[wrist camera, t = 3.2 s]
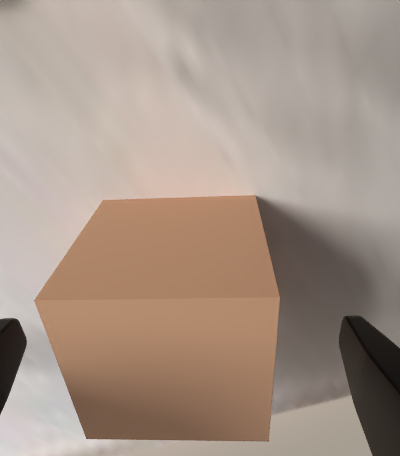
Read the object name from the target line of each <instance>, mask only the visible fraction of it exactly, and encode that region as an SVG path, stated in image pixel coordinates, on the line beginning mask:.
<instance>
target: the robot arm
mask: <svg viewBox="0 0 400 456" xmlns="http://www.w3.org/2000/svg"><path fill="white" fill-rule="evenodd" d="M26 345H27V340H26V336H25V334H24V332H23V329H22V327H21V325H20V322H19V321H18V320H17V319H15V318H4V319H0V414H1V412H2V410H3V408H4V405H5V403H6V401H7V398H8V396H9V393H10V391H11V388H12V385H13V382H14V380H15V377H16V374H17V371H18V368H19V366H20V363H21V360H22V357H23V354H24V352H25V349H26ZM339 347H340V351H341V355H342V359H343V363H344V367H345V371H346V375H347V379H348V383H349V387H350V391H351V395H352V399H353V402H354V406H355V408H356V412H357V414H358V417H359V420H360V422H361V425H362V428H363V431H364V433H365V436H366V439H367V441H368V444H369V447H370V450H371V452H372V455H373V456H400V348H399V347H398V346H397V345H395V344H394V343H393V342H392V341H391V340H389V339H388V338H387V337H386V336H385V335H383V334H382V333H381V332H380V331H378V330H377V329H376V328H375V327H374V326H372V325H371V324H370V323H369V322H367V321H366V320H365V319H364V318H363V317H361V316H345V317H344V318H343V320H342V325H341V330H340V335H339Z"/></svg>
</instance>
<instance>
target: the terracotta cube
mask: <svg viewBox="0 0 400 456" xmlns="http://www.w3.org/2000/svg"><path fill="white" fill-rule="evenodd" d="M34 301H35V304H36V306H37V309H38V312H39V314H40V317H41V320H42V322H43V325H44V328H45V330H46V333H47V336H48V338H49V341H50V343H51V346H52V349H53V351H54V354H55V357H56V359H57V362H58V365H59V367H60V370H61V373H62V375H63V378H64V381H65V383H66V386H67V388H68V391H69V394H70V396H71V399H72V402H73V404H74V407H75V410H76V412H77V415H78V418H79V420H80V423H81V426H82V428H83V431H84V434H85V436H86V439H131V440H206V441H269V430H270V419H271V406H272V394H273V381H274V368H275V355H276V343H277V330H278V317H279V304H280V295H279V291H278V287H277V283H276V278H275V274H274V270H273V266H272V262H271V258H270V254H269V249H268V245H267V241H266V237H265V233H264V229H263V225H262V220H261V216H260V212H259V208H258V204H257V200H256V196H255V195H251V196H220V197H188V198H157V199H126V200H103V201H102V203H101V204H100V205H99V207H98V208H97V210H96V211H95V213H94V214H93V216H92V217H91V219H90V220H89V221H88V223H87V224H86V226H85V227H84V229H83V230H82V232H81V233H80V235H79V236H78V238H77V239H76V240H75V242H74V243H73V245H72V246H71V248H70V249H69V251H68V252H67V254H66V255H65V256H64V258H63V259H62V261H61V262H60V264H59V265H58V267H57V268H56V270H55V271H54V272H53V274H52V275H51V277H50V278H49V280H48V281H47V283H46V284H45V286H44V287H43V288H42V290H41V291H40V293H39V294H38V296H37V297H36V299H35V300H34Z"/></svg>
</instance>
